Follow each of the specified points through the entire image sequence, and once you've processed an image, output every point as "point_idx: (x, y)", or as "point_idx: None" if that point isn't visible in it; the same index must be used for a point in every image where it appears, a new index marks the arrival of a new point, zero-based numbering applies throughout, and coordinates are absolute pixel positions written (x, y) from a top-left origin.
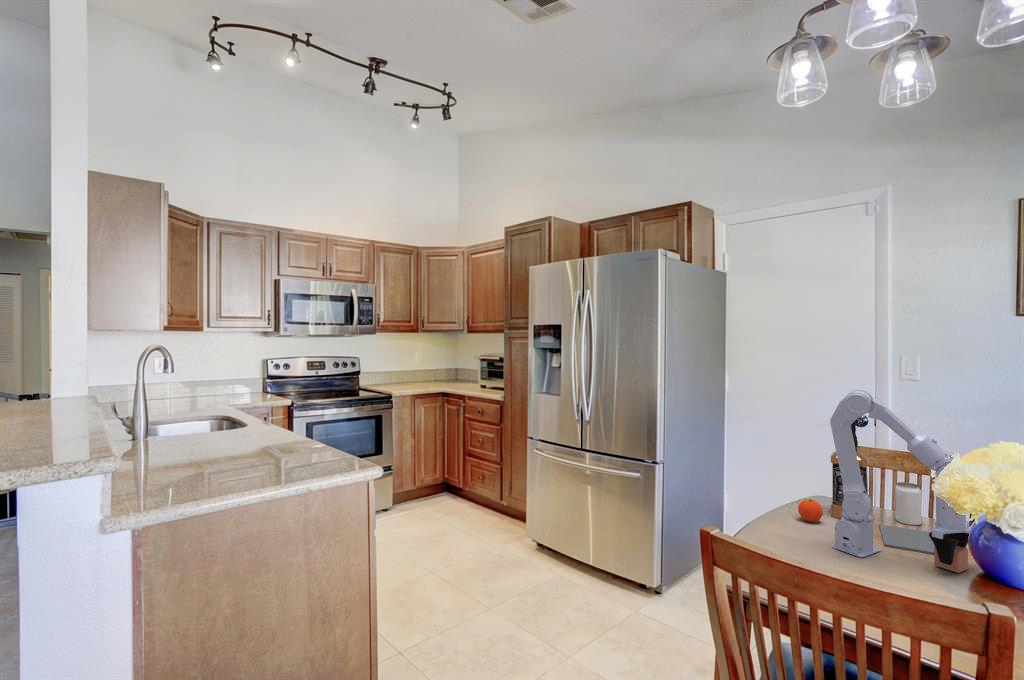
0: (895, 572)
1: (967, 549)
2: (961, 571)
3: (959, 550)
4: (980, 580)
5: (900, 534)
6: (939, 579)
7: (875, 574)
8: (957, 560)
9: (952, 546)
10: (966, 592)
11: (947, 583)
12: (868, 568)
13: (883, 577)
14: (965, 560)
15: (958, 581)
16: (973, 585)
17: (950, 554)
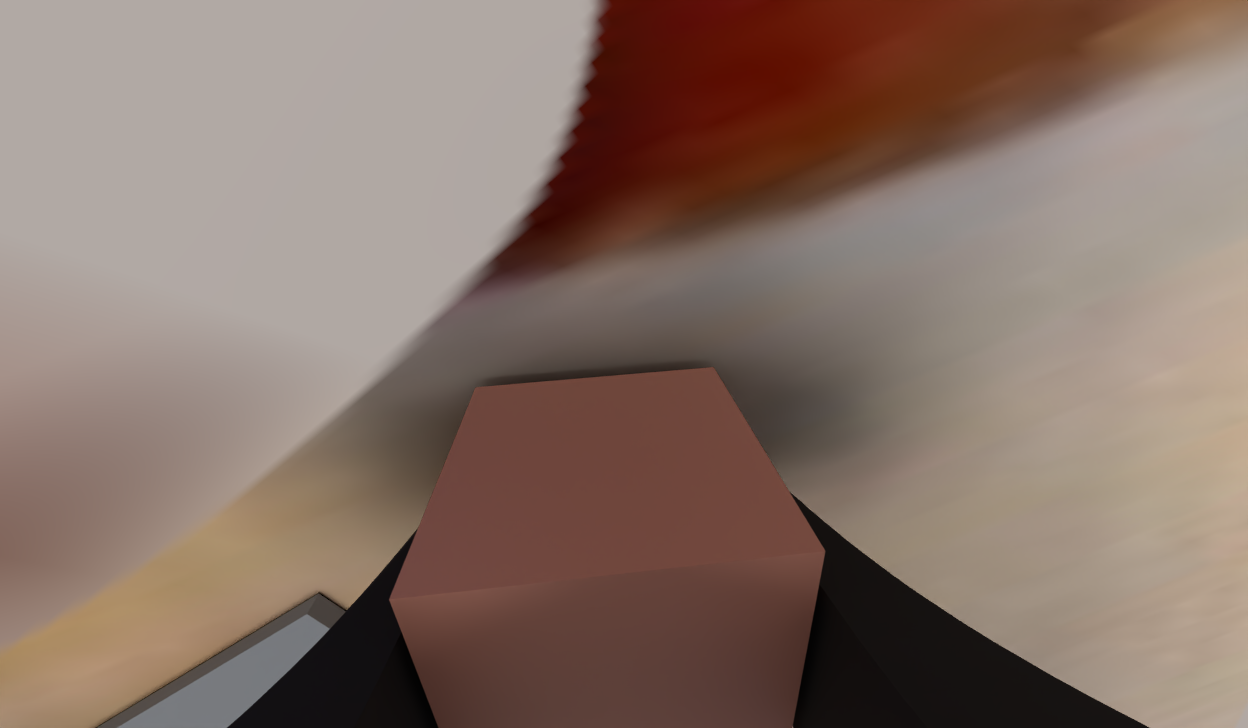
0: (1077, 558)
1: (419, 588)
2: (646, 374)
3: (665, 601)
4: (656, 178)
5: None
6: (986, 374)
7: (1211, 578)
8: (767, 461)
9: (1132, 719)
10: (1185, 84)
11: (1041, 298)
12: (1123, 636)
13: (1239, 539)
14: (534, 448)
15: (900, 276)
16: (896, 144)
17: (877, 567)
